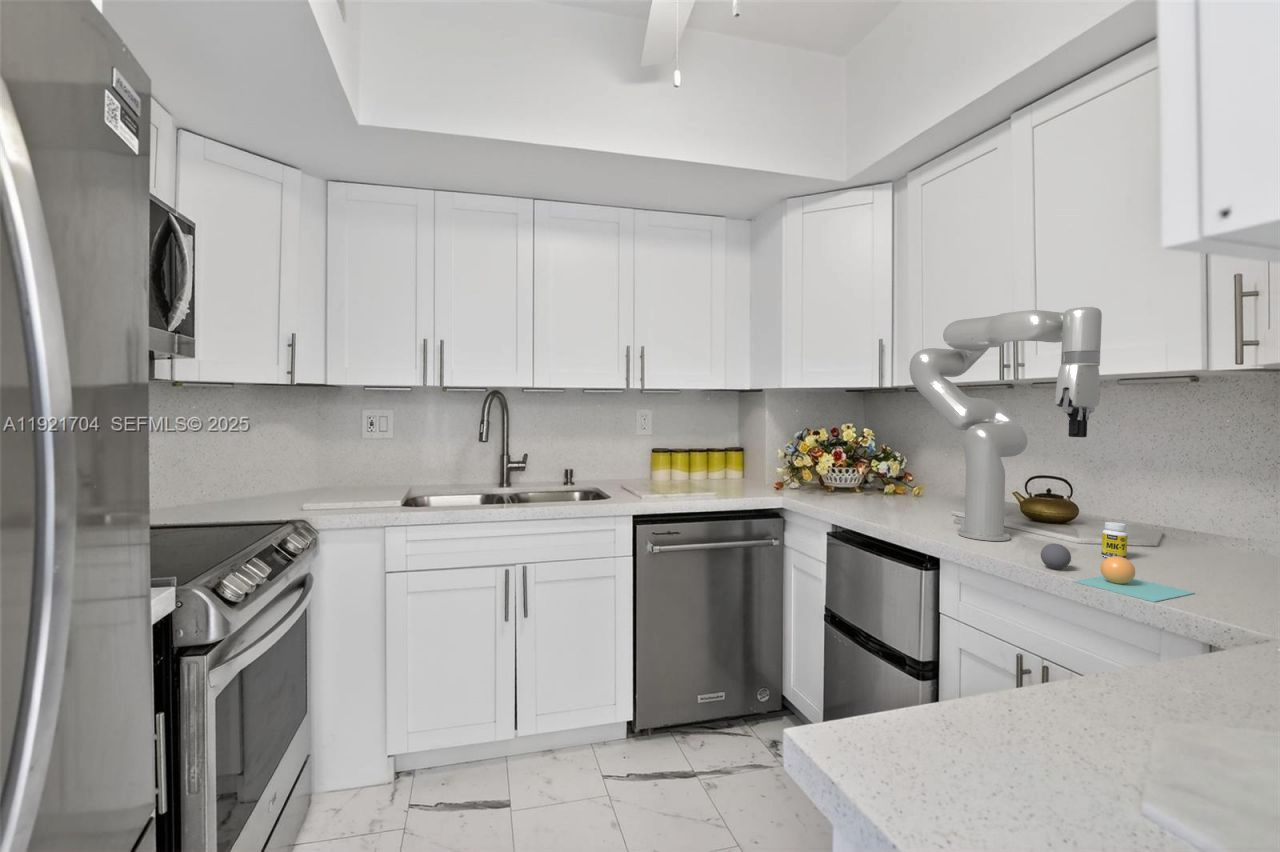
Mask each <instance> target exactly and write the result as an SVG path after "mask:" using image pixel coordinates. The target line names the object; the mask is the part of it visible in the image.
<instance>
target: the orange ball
mask: <svg viewBox="0 0 1280 852" xmlns="http://www.w3.org/2000/svg"><path fill="white" fill-rule="evenodd" d="M1100 572H1101V576H1104V578H1105V579H1107V580H1108V581H1110V582H1112V583H1115V584H1126V583H1129V582H1130V581H1132V580H1133V578H1134V579H1135V577H1136V568H1135V566H1134V564H1133V563H1132V562H1131V561H1130V560H1129V559H1127V558H1126V559H1125V558H1123V557H1119V556H1112V557H1109V558H1105V559H1104V560H1103V561H1102V562H1101V564H1100Z"/></svg>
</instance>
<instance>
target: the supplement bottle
mask: <svg viewBox="0 0 1280 852" xmlns="http://www.w3.org/2000/svg"><path fill="white" fill-rule="evenodd" d="M1126 530H1127V525H1126V524H1125V523H1122V522H1114V521H1105V522H1104V529H1103V530H1102V532H1101V535H1102V536H1101V554H1100V555H1101V557H1102V556H1104V557H1108V558H1109V557H1112V556H1119V557H1123V558H1125V559H1127V555H1128V551H1127V550H1128V537H1129V536H1128V532H1126ZM1104 557H1103V558H1104Z"/></svg>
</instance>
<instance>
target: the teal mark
mask: <svg viewBox="0 0 1280 852" xmlns="http://www.w3.org/2000/svg"><path fill="white" fill-rule="evenodd" d="M1073 582H1074V583H1077V584H1082V585H1086V586H1089V587H1092V588H1097V589H1101V590H1105V591H1107V592H1112V593H1117V594H1119V595H1124V596H1128V597H1132V598H1136V599H1140V600H1144V601H1148V602H1152V603H1158V602H1163V601H1168V600H1173V599H1177V598H1182V597H1187V596H1192V595H1196V592H1195V591H1194V592H1193V591H1190V590H1187V589H1182V588H1181V589H1180V588H1178V587H1177V588H1176V587H1172V586H1169V585H1164V584H1159V583H1154V582H1150V581H1148V580H1147V581H1146V580H1143V579H1138V578H1135V577H1134V578H1133V580H1132V581H1130V582H1129V583H1126V584H1115V583H1112V582H1110V581H1108V580H1107V579H1105V578H1104V576H1103V575H1099V576H1095V577H1088V578H1083V579H1077V580H1073ZM1186 595H1187V596H1186ZM1181 596H1182V597H1181Z"/></svg>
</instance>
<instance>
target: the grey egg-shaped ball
mask: <svg viewBox="0 0 1280 852" xmlns="http://www.w3.org/2000/svg"><path fill="white" fill-rule="evenodd" d="M1040 559H1041V561H1042V562H1043V564H1044V565H1045V566H1047V567H1049V568H1050V569H1053V570H1062V569H1064V568H1067V567H1069V564H1071V561H1072V556H1071V552H1070V551H1069V549H1068V548H1066V547H1065V546H1064V545H1063V544H1060V543H1048V544H1046V545H1045V546H1044V547H1042V549H1041V550H1040Z"/></svg>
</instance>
